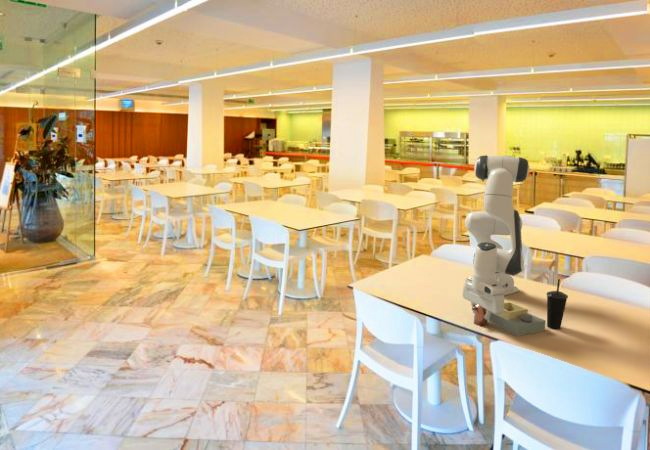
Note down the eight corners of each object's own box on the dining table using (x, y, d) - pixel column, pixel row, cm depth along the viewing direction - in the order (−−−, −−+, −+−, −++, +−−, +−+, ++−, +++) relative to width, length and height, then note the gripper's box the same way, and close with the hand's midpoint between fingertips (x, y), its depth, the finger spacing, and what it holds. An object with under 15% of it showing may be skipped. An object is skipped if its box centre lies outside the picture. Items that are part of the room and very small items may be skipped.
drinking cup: (539, 323, 194) (544, 276, 190) (557, 322, 195) (562, 276, 191) (549, 331, 187) (555, 282, 183) (568, 330, 187) (574, 282, 183)
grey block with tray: (510, 313, 204) (511, 298, 202) (544, 330, 188) (546, 313, 186) (484, 318, 198) (486, 302, 197) (517, 336, 182) (519, 318, 181)
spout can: (480, 320, 197) (482, 300, 195) (489, 324, 192) (491, 304, 191) (467, 322, 194) (469, 302, 192) (475, 327, 190) (477, 307, 188)
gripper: (460, 276, 198) (457, 308, 201) (495, 292, 180) (492, 326, 183) (472, 275, 201) (469, 306, 203) (508, 290, 182) (505, 324, 185)
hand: (480, 316), depth 193 cm, fingers closed on spout can, 5 cm apart
